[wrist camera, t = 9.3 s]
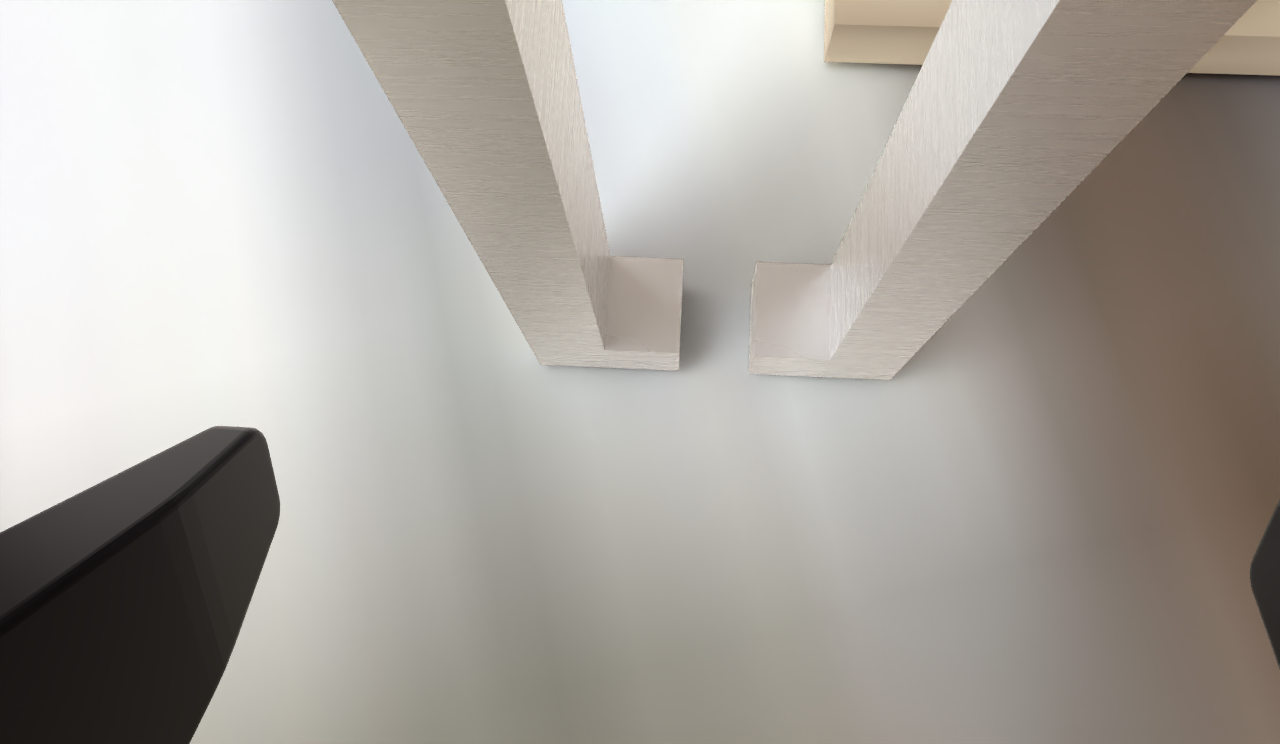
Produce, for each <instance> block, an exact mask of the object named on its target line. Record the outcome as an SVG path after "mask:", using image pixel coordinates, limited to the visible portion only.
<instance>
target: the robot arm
mask: <svg viewBox="0 0 1280 744" xmlns="http://www.w3.org/2000/svg"><path fill="white" fill-rule="evenodd" d="M279 516H280V500H279V494H278V490H277V485H276V481H275V476H274V472H273V467H272V463H271V458H270V453H269V449H268V445H267V442H266V439H265V437H264V435H263V434H262V433H261V432H260V431H259V430H257V429H255V428H247V427H230V426H215V427H211V428H209V429H207V430H205V431H203V432H201V433H199V434H197V435H195V436H193V437H191V438H189V439H187V440H185V441H183V442H181V443H179V444H177V445H175V446H173V447H171V448H169V449H167V450H165V451H163V452H161V453H159V454H157V455H155V456H153V457H151V458H149V459H147V460H145V461H143V462H141V463H139V464H137V465H135V466H133V467H131V468H129V469H127V470H125V471H123V472H121V473H119V474H117V475H115V476H113V477H111V478H109V479H107V480H105V481H103V482H101V483H99V484H97V485H95V486H93V487H91V488H89V489H87V490H85V491H83V492H81V493H79V494H77V495H75V496H73V497H71V498H69V499H67V500H65V501H63V502H61V503H59V504H57V505H55V506H53V507H51V508H49V509H47V510H45V511H43V512H41V513H39V514H37V515H35V516H33V517H31V518H29V519H27V520H25V521H23V522H21V523H19V524H17V525H15V526H13V527H11V528H9V529H7V530H5V531H3V532H1V533H0V744H189V743H190V741H191V739H192V737H193V735H194V733H195V731H196V729H197V727H198V725H199V723H200V721H201V719H202V717H203V715H204V713H205V711H206V709H207V707H208V705H209V703H210V701H211V699H212V697H213V695H214V692H215V690H216V688H217V686H218V684H219V682H220V679H221V677H222V675H223V673H224V671H225V669H226V666H227V663H228V661H229V658H230V656H231V653H232V651H233V648H234V646H235V643H236V640H237V637H238V635H239V632H240V629H241V626H242V623H243V621H244V618H245V615H246V612H247V609H248V607H249V604H250V601H251V598H252V595H253V593H254V590H255V587H256V584H257V582H258V579H259V576H260V573H261V570H262V568H263V565H264V562H265V559H266V556H267V554H268V551H269V548H270V545H271V542H272V540H273V537H274V534H275V531H276V528H277V525H278V521H279ZM1250 581H1251V587H1252V591H1253V594H1254V597H1255V600H1256V603H1257V606H1258V608H1259V611H1260V614H1261V617H1262V620H1263V623H1264V626H1265V628H1266V631H1267V634H1268V637H1269V640H1270V643H1271V646H1272V648H1273V651H1274V654H1275V657H1276V660H1277V663H1278V666H1279V668H1280V501H1279V502H1278V504H1277V506H1276V508H1275V510H1274V513H1273V515H1272V517H1271V519H1270V521H1269V524H1268V526H1267V528H1266V530H1265V533H1264V535H1263V537H1262V539H1261V541H1260V544H1259V546H1258V548H1257V550H1256V552H1255V555H1254V557H1253V560H1252V563H1251V568H1250Z"/></svg>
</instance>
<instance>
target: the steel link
mask: <svg viewBox="0 0 1280 744" xmlns="http://www.w3.org/2000/svg"><path fill="white" fill-rule="evenodd" d="M332 1H333V3H334V4H335V6H336V8H337V10H338V11H339V13H340V15H341V17H342V18H343V20H344V22H345V24H346V25H347V27H348V29H349V31H350V32H351V34H352V36H353V38H354V39H355V41H356V43H357V45H358V46H359V48H360V50H361V52H362V53H363V55H364V57H365V59H366V60H367V62H368V64H369V66H370V67H371V69H372V71H373V73H374V74H375V76H376V78H377V80H378V81H379V83H380V85H381V87H382V88H383V90H384V92H385V94H386V95H387V97H388V99H389V101H390V102H391V104H392V106H393V108H394V109H395V111H396V113H397V115H398V116H399V118H400V120H401V122H402V123H403V125H404V127H405V129H406V130H407V132H408V134H409V136H410V137H411V139H412V141H413V143H414V144H415V146H416V148H417V150H418V151H419V153H420V155H421V157H422V158H423V160H424V162H425V164H426V165H427V167H428V169H429V171H430V172H431V174H432V176H433V177H434V179H435V181H436V183H437V184H438V186H439V188H440V190H441V191H442V193H443V195H444V197H445V198H446V200H447V202H448V204H449V205H450V207H451V209H452V211H453V212H454V214H455V216H456V218H457V219H458V221H459V223H460V225H461V226H462V228H463V230H464V232H465V233H466V235H467V237H468V239H469V240H470V242H471V244H472V246H473V247H474V249H475V251H476V253H477V254H478V256H479V258H480V260H481V261H482V263H483V265H484V267H485V268H486V270H487V272H488V274H489V275H490V277H491V279H492V281H493V282H494V284H495V286H496V288H497V289H498V291H499V293H500V295H501V296H502V298H503V300H504V302H505V303H506V305H507V307H508V309H509V310H510V312H511V314H512V316H513V317H514V319H515V321H516V323H517V324H518V326H519V328H520V330H521V331H522V333H523V335H524V337H525V338H526V340H527V342H528V344H529V345H530V347H531V349H532V351H533V352H534V354H535V356H536V358H537V359H538V361H539V363H540V365H558V366H581V367H604V368H626V369H649V370H672V371H679V356H680V334H681V313H682V291H683V259H668V258H642V257H616V256H610V251H609V246H608V240H607V235H606V230H605V224H604V219H603V214H602V209H601V203H600V198H599V193H598V187H597V182H596V177H595V172H594V166H593V161H592V156H591V151H590V145H589V140H588V135H587V129H586V124H585V119H584V114H583V108H582V103H581V98H580V92H579V87H578V82H577V77H576V71H575V66H574V61H573V55H572V50H571V45H570V40H569V34H568V29H567V24H566V18H565V13H564V8H563V3H562V0H332ZM1256 1H1257V0H952V2H951V5H950V7H949V9H948V11H947V13H946V15H945V18H944V20H943V22H942V24H941V26H940V29H939V31H938V33H937V35H936V37H935V39H934V42H933V44H932V46H931V48H930V50H929V52H928V55H927V57H926V59H925V61H924V63H923V65H922V68H921V70H920V72H919V74H918V76H917V78H916V81H915V83H914V85H913V87H912V89H911V91H910V94H909V96H908V98H907V100H906V102H905V105H904V107H903V109H902V111H901V113H900V115H899V118H898V120H897V122H896V124H895V126H894V128H893V131H892V133H891V135H890V137H889V139H888V141H887V144H886V146H885V148H884V150H883V152H882V154H881V157H880V159H879V161H878V163H877V165H876V167H875V170H874V172H873V174H872V176H871V178H870V181H869V183H868V185H867V187H866V189H865V191H864V194H863V196H862V198H861V200H860V202H859V204H858V207H857V209H856V211H855V213H854V215H853V217H852V220H851V222H850V224H849V226H848V228H847V230H846V233H845V235H844V237H843V239H842V241H841V243H840V246H839V248H838V250H837V252H836V254H835V257H834V259H833V261H832V263H831V265H824V264H798V263H772V262H757V263H756V267H755V271H754V276H753V280H752V284H751V310H750V345H749V374H763V375H786V376H809V377H832V378H855V379H878V380H890V379H891V378H892V377H893V376H894V375H895V374H896V373H897V372H898V371H899V370H900V369H901V368H902V367H903V366H904V365H905V364H906V363H907V362H908V361H909V360H910V359H911V358H912V357H913V356H914V355H915V353H916V352H917V351H918V350H919V349H920V348H921V347H922V346H923V345H924V344H925V343H926V342H927V341H928V340H929V339H930V338H931V337H932V336H933V335H934V334H935V333H936V332H937V331H938V330H939V329H940V328H941V327H942V326H943V325H944V324H945V322H946V321H947V320H948V319H949V318H950V317H951V316H952V315H953V314H954V313H955V312H956V311H957V310H958V309H959V308H960V307H961V306H962V305H963V304H964V303H965V302H966V301H967V300H968V299H969V298H970V297H971V296H972V295H973V294H974V293H975V291H976V290H977V289H978V288H979V287H980V286H981V285H982V284H983V283H984V282H985V281H986V280H987V279H988V278H989V277H990V276H991V275H992V274H993V273H994V272H995V271H996V270H997V269H998V268H999V267H1000V266H1001V265H1002V264H1003V263H1004V262H1005V260H1006V259H1007V258H1008V257H1009V256H1010V255H1011V254H1012V253H1013V252H1014V251H1015V250H1016V249H1017V248H1018V247H1019V246H1020V245H1021V244H1022V243H1023V242H1024V241H1025V240H1026V239H1027V238H1028V237H1029V236H1030V235H1031V234H1032V233H1033V232H1034V231H1035V230H1036V228H1037V227H1038V226H1039V225H1040V224H1041V223H1042V222H1043V221H1044V220H1045V219H1046V218H1047V217H1048V216H1049V215H1050V214H1051V213H1052V212H1053V211H1054V210H1055V209H1056V208H1057V207H1058V206H1059V205H1060V204H1061V203H1062V202H1063V201H1064V200H1065V199H1066V197H1067V196H1068V195H1069V194H1070V193H1071V192H1072V191H1073V190H1074V189H1075V188H1076V187H1077V186H1078V185H1079V184H1080V183H1081V182H1082V181H1083V180H1084V179H1085V178H1086V177H1087V176H1088V175H1089V174H1090V173H1091V172H1092V171H1093V170H1094V169H1095V168H1096V166H1097V165H1098V164H1099V163H1100V162H1101V161H1102V160H1103V159H1104V158H1105V157H1106V156H1107V155H1108V154H1109V153H1110V152H1111V151H1112V150H1113V149H1114V148H1115V147H1116V146H1117V145H1118V144H1119V143H1120V142H1121V141H1122V140H1123V139H1124V138H1125V137H1126V135H1127V134H1128V133H1129V132H1130V131H1131V130H1132V129H1133V128H1134V127H1135V126H1136V125H1137V124H1138V123H1139V122H1140V121H1141V120H1142V119H1143V118H1144V117H1145V116H1146V115H1147V114H1148V113H1149V112H1150V111H1151V110H1152V109H1153V108H1154V107H1155V106H1156V104H1157V103H1158V102H1159V101H1160V100H1161V99H1162V98H1163V97H1164V96H1165V95H1166V94H1167V93H1168V92H1169V91H1170V90H1171V89H1172V88H1173V87H1174V86H1175V85H1176V84H1177V83H1178V82H1179V81H1180V80H1181V79H1182V78H1183V77H1184V76H1185V75H1186V73H1187V72H1188V71H1189V70H1190V69H1191V68H1192V67H1193V66H1194V65H1195V64H1196V63H1197V62H1198V61H1199V60H1200V59H1201V58H1202V57H1203V56H1204V55H1205V54H1206V53H1207V52H1208V51H1209V50H1210V49H1211V48H1212V47H1213V46H1214V45H1215V44H1216V43H1217V41H1218V40H1219V39H1220V38H1221V37H1222V36H1223V35H1224V34H1225V33H1226V32H1227V31H1228V30H1229V29H1230V28H1231V27H1232V26H1233V25H1234V24H1235V23H1236V22H1237V21H1238V20H1239V19H1240V18H1241V17H1242V16H1243V15H1244V14H1245V13H1246V12H1247V10H1248V9H1249V8H1250V7H1251V6H1252V5H1253V4H1254V3H1255V2H1256Z"/></svg>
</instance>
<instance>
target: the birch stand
mask: <svg viewBox="0 0 1280 744" xmlns="http://www.w3.org/2000/svg"><path fill="white" fill-rule="evenodd" d="M951 2H952V0H825V42H824V62H847V63H881V64H914V65H923V63H924V61H925V59H926V57H927V55H928V52H929V50H930V48H931V46H932V44H933V42H934V39H935V37H936V35H937V33H938V31H939V29H940V26H941V24H942V22H943V20H944V18H945V15H946V13H947V11H948V9H949V7H950V5H951ZM1187 73H1212V74H1245V75H1278V76H1280V0H1257V1H1256V2H1255V3H1254V4H1253V5H1252V6H1251V7H1250V8H1249V9H1248V10H1247V12H1246V13H1245V14H1244V15H1243V16H1242V17H1241V18H1240V19H1239V20H1238V21H1237V22H1236V23H1235V24H1234V25H1233V26H1232V27H1231V28H1230V29H1229V30H1228V31H1227V32H1226V33H1225V34H1224V35H1223V36H1222V37H1221V38H1220V39H1219V40H1218V41H1217V43H1216V44H1215V45H1214V46H1213V47H1212V48H1211V49H1210V50H1209V51H1208V52H1207V53H1206V54H1205V55H1204V56H1203V57H1202V58H1201V59H1200V60H1199V61H1198V62H1197V63H1196V64H1195V65H1194V66H1193V67H1192V68H1191V69H1190V70H1189V71H1188V72H1187Z"/></svg>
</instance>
